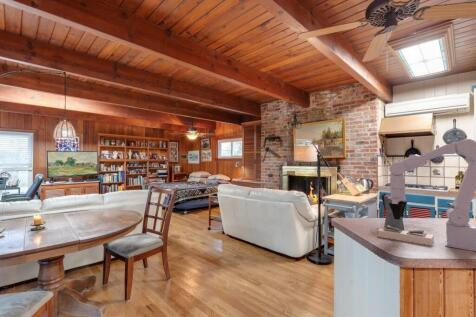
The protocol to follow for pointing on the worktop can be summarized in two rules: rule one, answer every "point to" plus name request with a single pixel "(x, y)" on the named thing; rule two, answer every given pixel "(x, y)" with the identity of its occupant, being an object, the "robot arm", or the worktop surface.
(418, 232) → the rocker
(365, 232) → the worktop surface
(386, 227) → the rocker
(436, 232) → the worktop surface
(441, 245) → the worktop surface
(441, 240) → the worktop surface
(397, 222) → the moka pot
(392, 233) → the power strip
